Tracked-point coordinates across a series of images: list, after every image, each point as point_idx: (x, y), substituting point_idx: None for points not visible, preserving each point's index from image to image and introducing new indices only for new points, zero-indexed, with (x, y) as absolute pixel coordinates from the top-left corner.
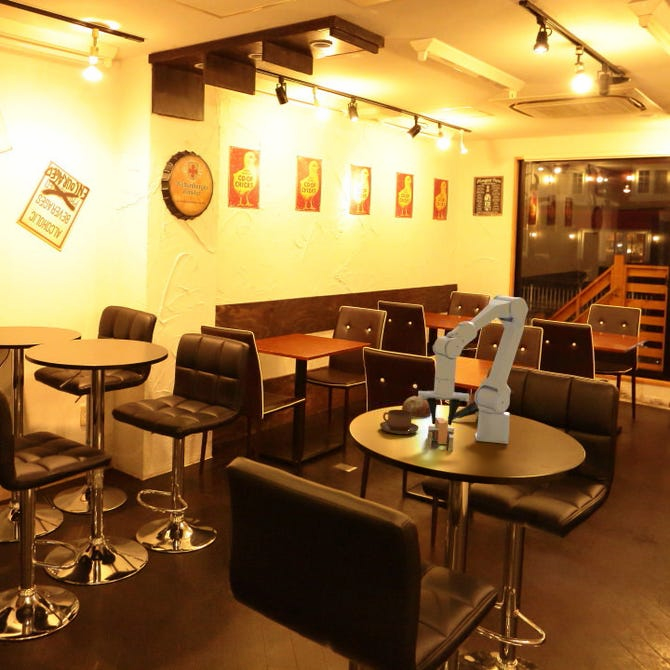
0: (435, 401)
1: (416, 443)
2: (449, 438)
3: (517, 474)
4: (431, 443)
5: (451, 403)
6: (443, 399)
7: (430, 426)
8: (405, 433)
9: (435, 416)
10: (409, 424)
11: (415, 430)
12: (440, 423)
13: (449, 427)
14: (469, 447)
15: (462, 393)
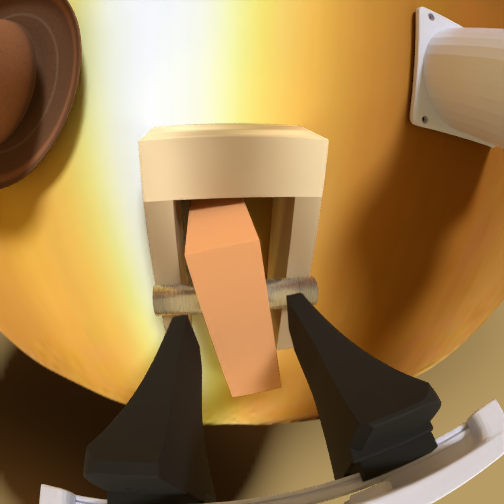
0: (199, 499)
1: (116, 257)
2: (276, 346)
3: None
4: (183, 235)
5: (337, 467)
6: (274, 500)
7: (167, 313)
8: (33, 159)
9: (201, 399)
10: (19, 101)
11: (68, 113)
12: (236, 394)
13: (296, 159)
14: (361, 228)
15: (485, 466)
